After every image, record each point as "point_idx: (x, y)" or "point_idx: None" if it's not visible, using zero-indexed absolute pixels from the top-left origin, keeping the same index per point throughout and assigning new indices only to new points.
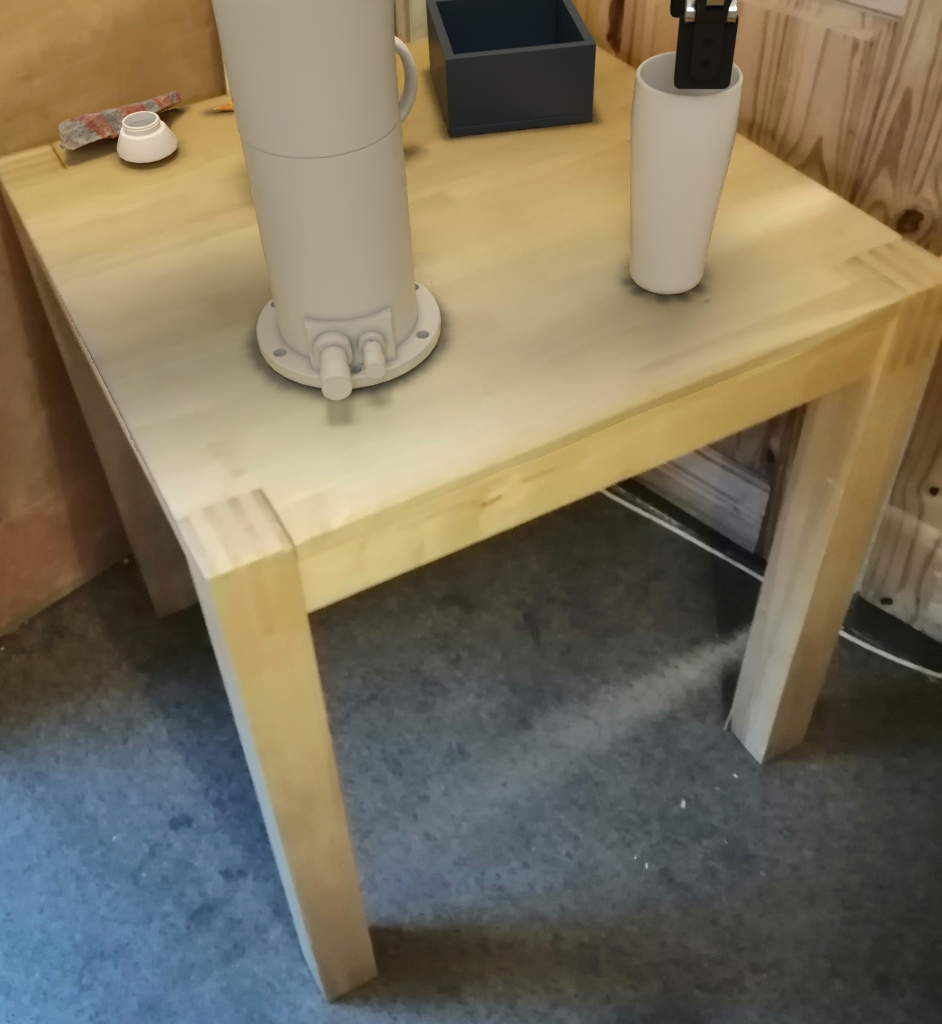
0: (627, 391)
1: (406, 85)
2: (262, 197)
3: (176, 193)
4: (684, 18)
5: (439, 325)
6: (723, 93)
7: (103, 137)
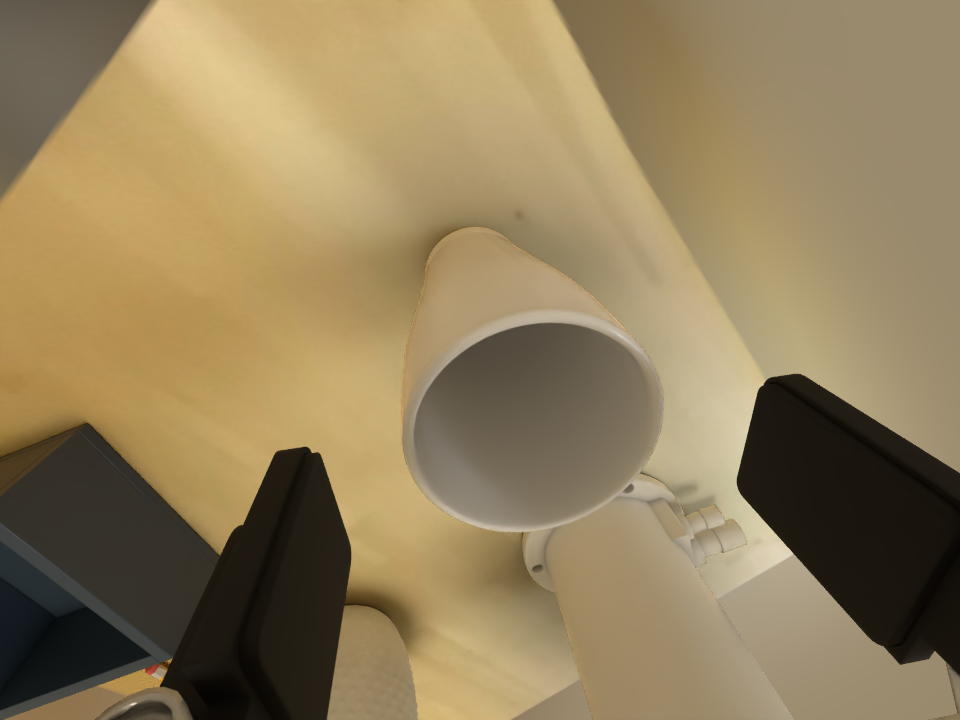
0: (689, 291)
1: None
2: None
3: None
4: (927, 650)
5: None
6: (645, 353)
7: None
